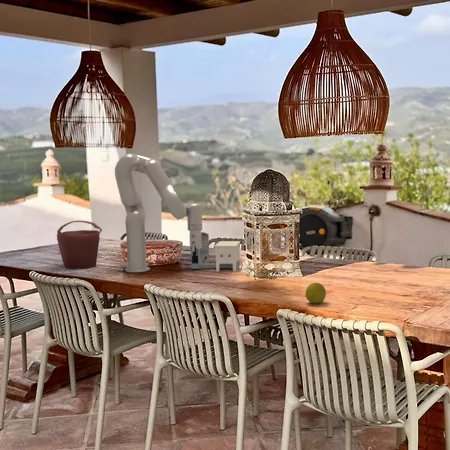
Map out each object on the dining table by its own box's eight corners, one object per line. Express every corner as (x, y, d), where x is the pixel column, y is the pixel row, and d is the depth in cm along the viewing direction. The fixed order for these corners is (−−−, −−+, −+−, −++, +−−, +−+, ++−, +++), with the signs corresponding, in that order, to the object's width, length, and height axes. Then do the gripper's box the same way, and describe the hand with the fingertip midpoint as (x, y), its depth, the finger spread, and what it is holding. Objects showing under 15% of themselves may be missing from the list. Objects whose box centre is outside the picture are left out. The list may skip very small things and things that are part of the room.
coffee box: (193, 261, 357) (192, 232, 355) (205, 260, 359) (204, 231, 357) (198, 264, 348) (197, 234, 347) (209, 263, 350) (208, 233, 349)
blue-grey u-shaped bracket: (191, 268, 333) (190, 247, 332) (193, 267, 337) (191, 246, 336) (233, 268, 330) (232, 246, 329) (234, 266, 334) (233, 245, 333)
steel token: (233, 270, 329) (233, 267, 329) (234, 267, 335) (234, 265, 335) (245, 269, 328) (245, 266, 328) (246, 267, 334) (246, 264, 334)
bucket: (111, 264, 354) (109, 219, 352) (86, 271, 335) (84, 223, 332) (75, 262, 365) (72, 218, 362) (48, 269, 345) (46, 222, 342)
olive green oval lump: (320, 307, 245) (320, 286, 244) (301, 305, 249) (301, 284, 248) (330, 301, 255) (330, 281, 254) (311, 299, 258) (311, 279, 258)
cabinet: (214, 271, 324) (214, 246, 323) (220, 265, 342) (219, 241, 340) (236, 271, 323) (236, 246, 321) (240, 265, 340) (240, 241, 339)
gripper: (199, 229, 324) (200, 265, 326) (204, 225, 340) (206, 259, 342) (184, 229, 325) (185, 265, 327) (191, 225, 341) (192, 259, 343)
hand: (196, 262), depth 335 cm, fingers closed on blue-grey u-shaped bracket, 4 cm apart
